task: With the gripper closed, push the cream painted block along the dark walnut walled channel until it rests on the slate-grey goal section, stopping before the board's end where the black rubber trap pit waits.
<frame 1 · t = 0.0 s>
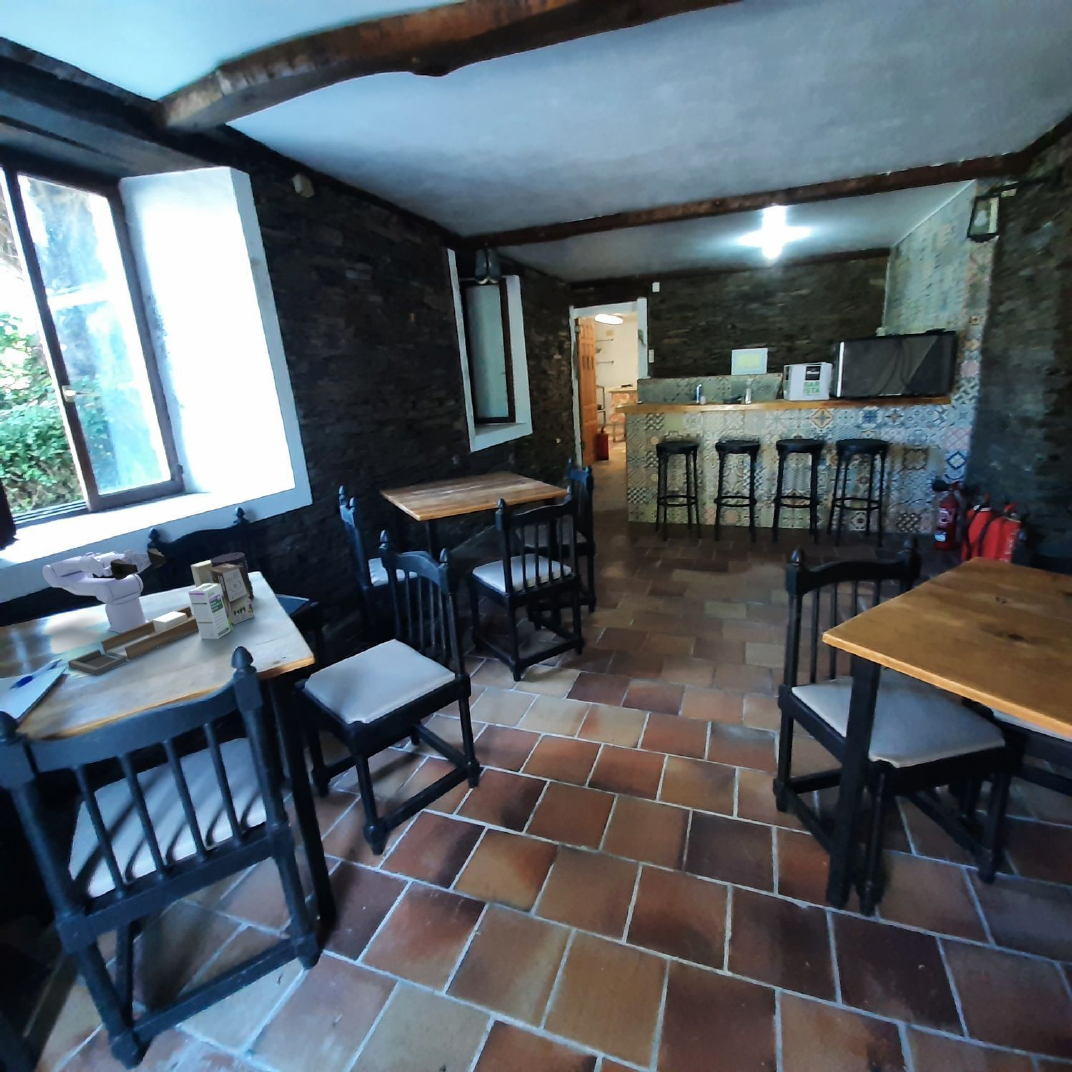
hand: (150, 563, 150), 22 cm above the table, tool horizontal, fingers open, 7 cm apart
walled channel: (163, 636, 156), on the table
syrup box: (217, 635, 155), on the table
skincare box: (211, 598, 184), on the table
cream block: (172, 629, 158), point 1 cm above the table, touching walled channel
trap pit: (98, 664, 142), on the table
storage jar: (238, 600, 180), on the table
coffee box: (237, 618, 165), on the table
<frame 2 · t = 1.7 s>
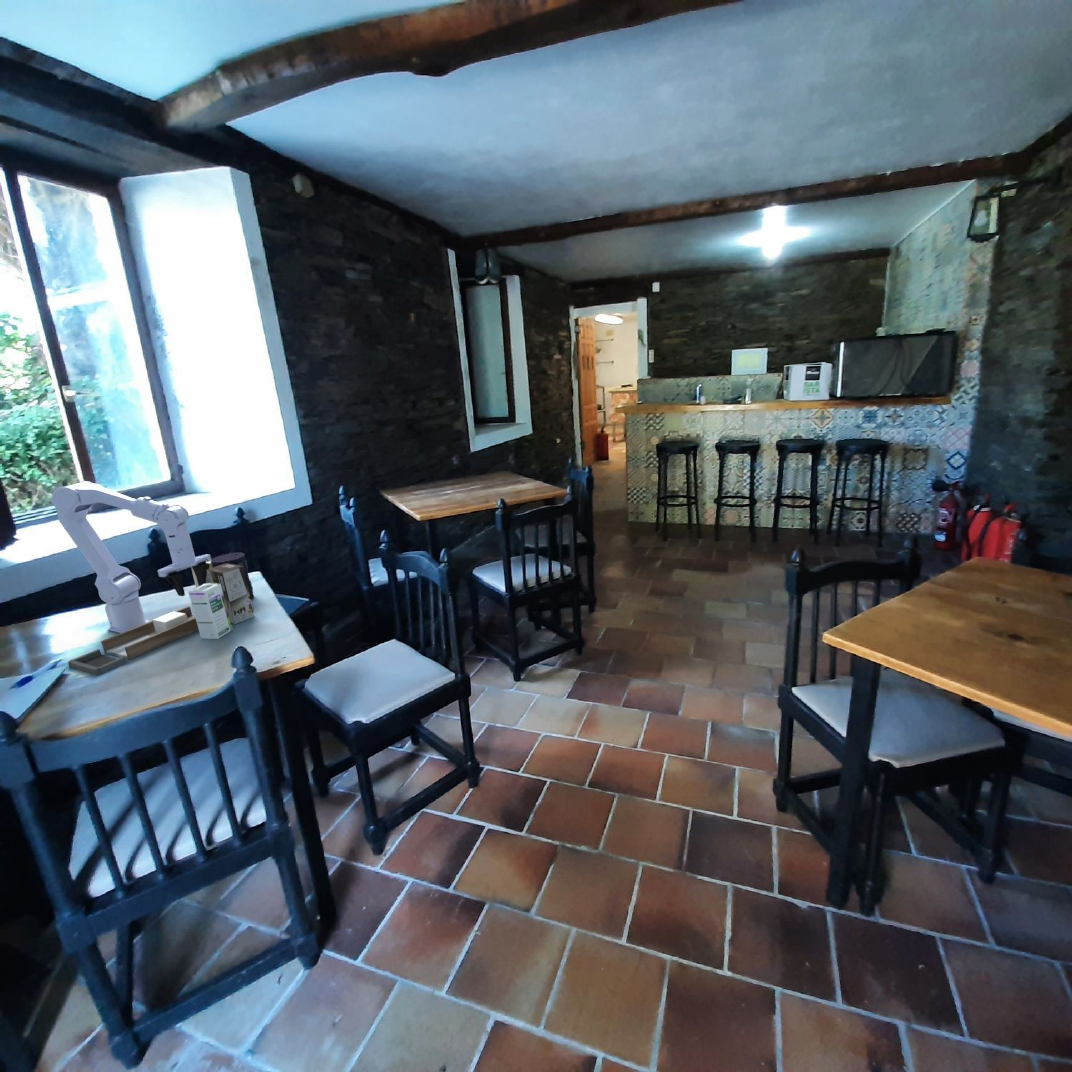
hand: (192, 591, 163), 9 cm above the table, tool pointing down, fingers open, 6 cm apart
nothing on the table moved.
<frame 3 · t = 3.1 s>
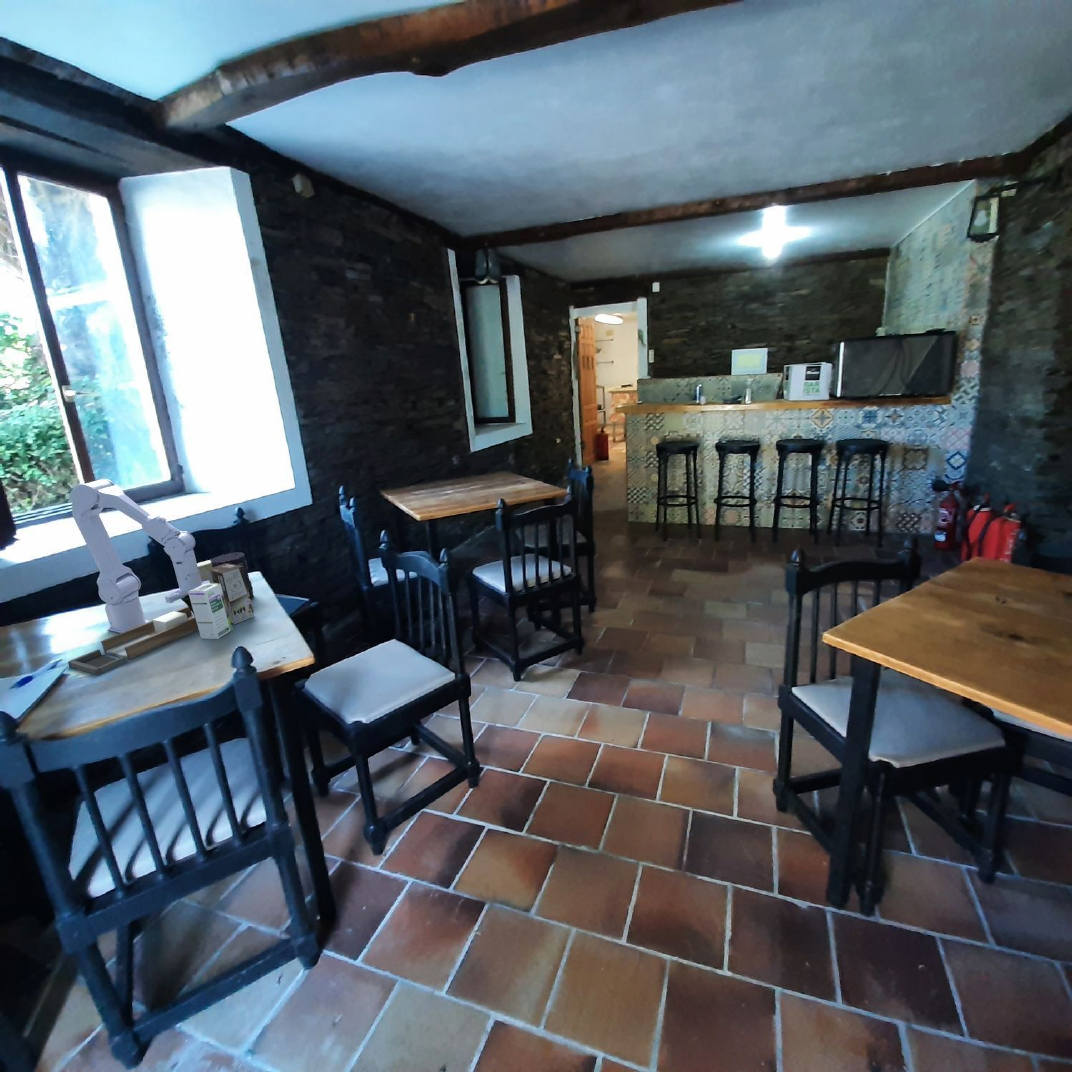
hand: (198, 616, 165), 1 cm above the table, tool pointing down, fingers closed
nothing on the table moved.
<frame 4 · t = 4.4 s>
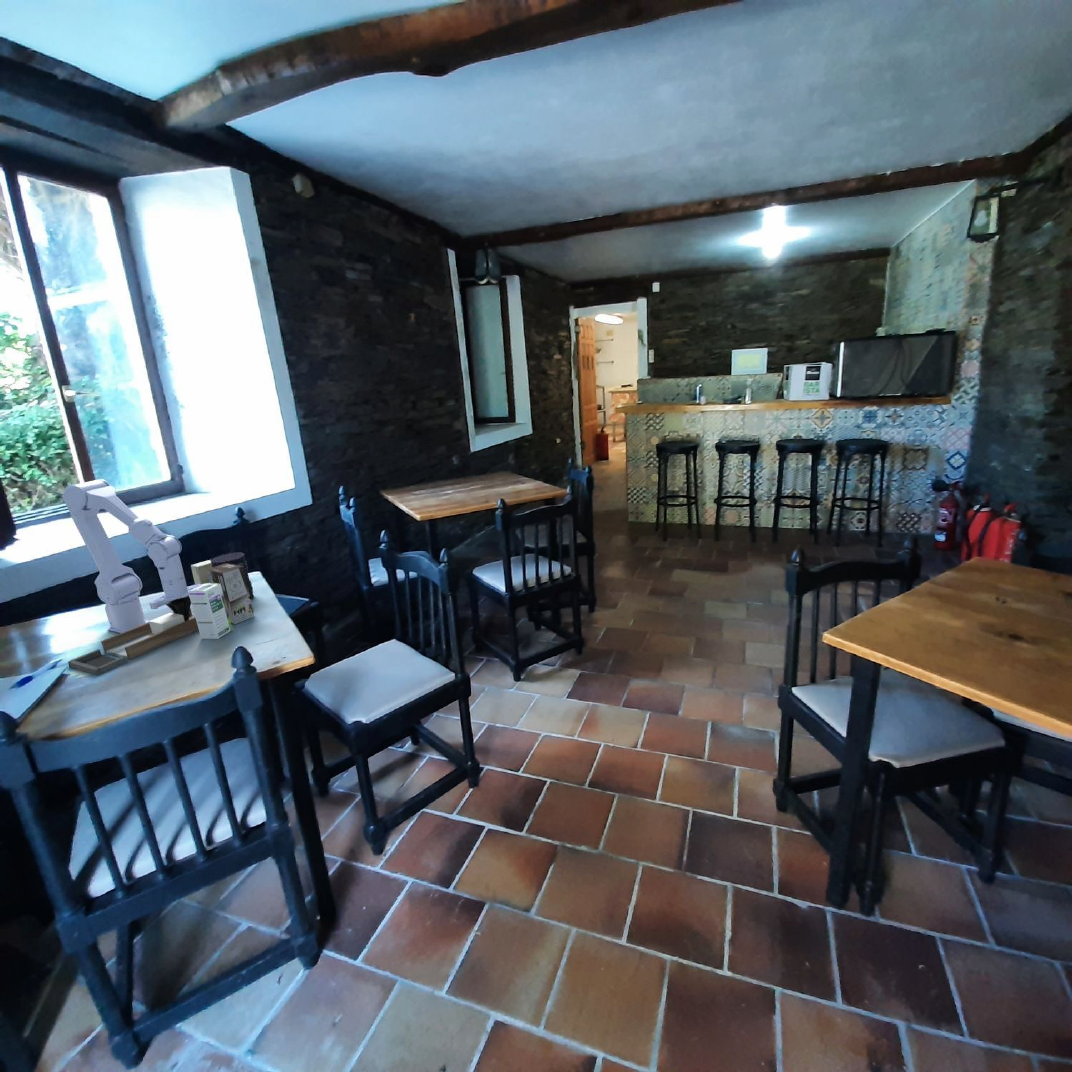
hand: (184, 622, 161), 1 cm above the table, tool pointing down, fingers closed
cream block: (169, 630, 158), point 1 cm above the table, touching gripper
everything else where it was.
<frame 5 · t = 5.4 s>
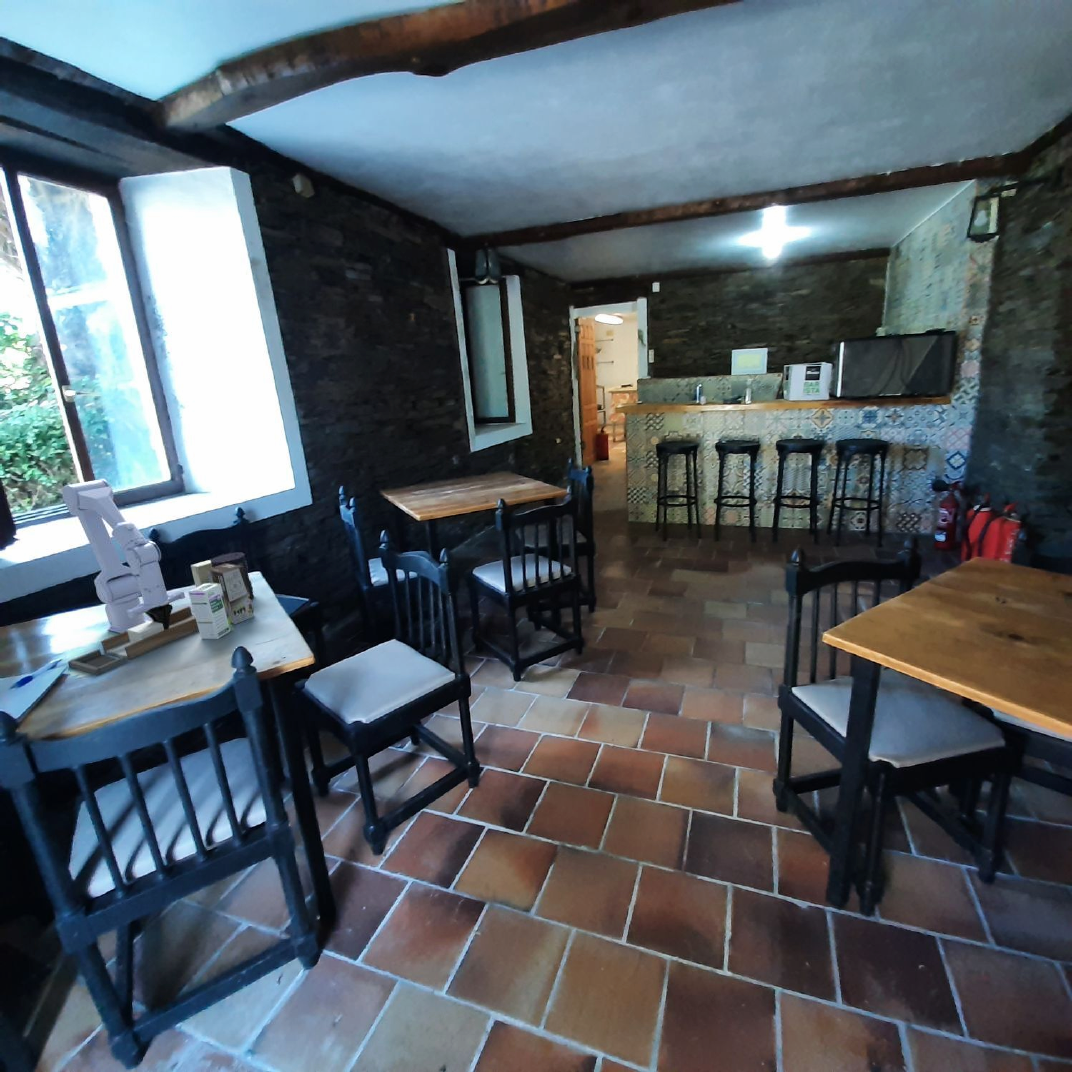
hand: (164, 630, 156), 1 cm above the table, tool pointing down, fingers closed
cream block: (148, 639, 153), point 1 cm above the table, touching gripper, walled channel
everything else where it was.
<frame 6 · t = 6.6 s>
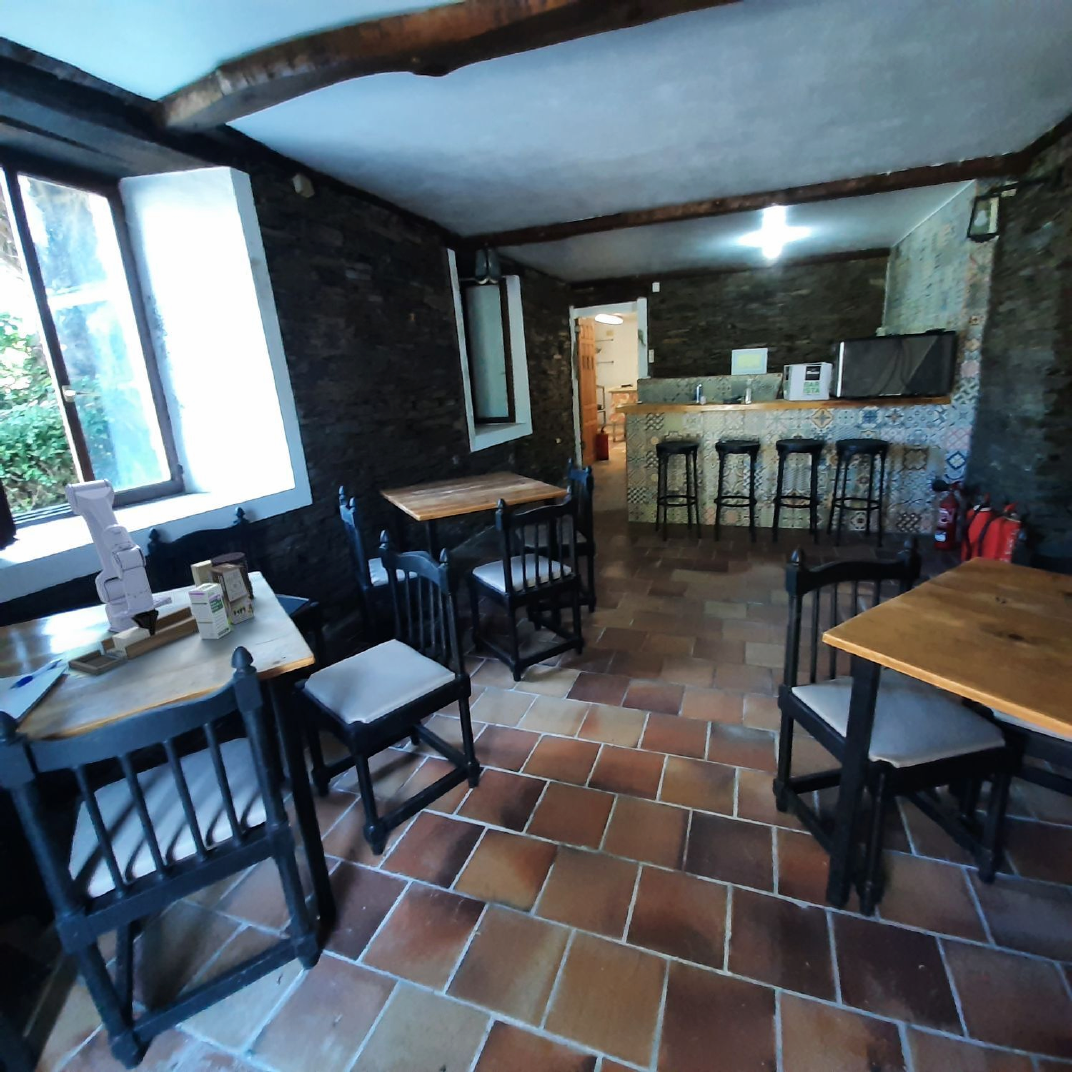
hand: (150, 636, 153), 1 cm above the table, tool pointing down, fingers closed
cream block: (134, 646, 149), point 1 cm above the table, touching gripper, walled channel
everything else where it was.
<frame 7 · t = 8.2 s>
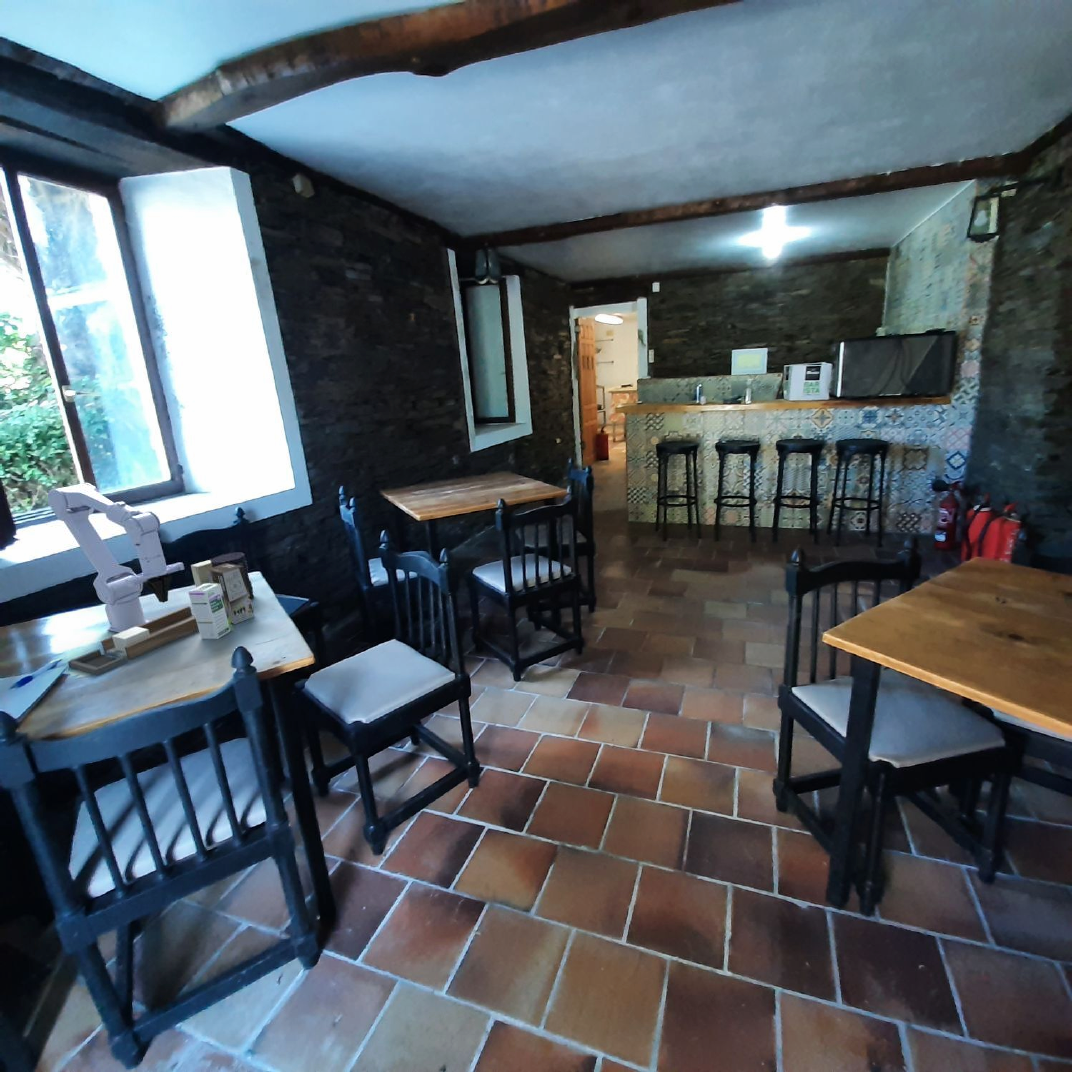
hand: (163, 601, 157), 9 cm above the table, tool pointing down, fingers closed
cream block: (134, 646, 149), point 1 cm above the table, touching walled channel
everything else where it was.
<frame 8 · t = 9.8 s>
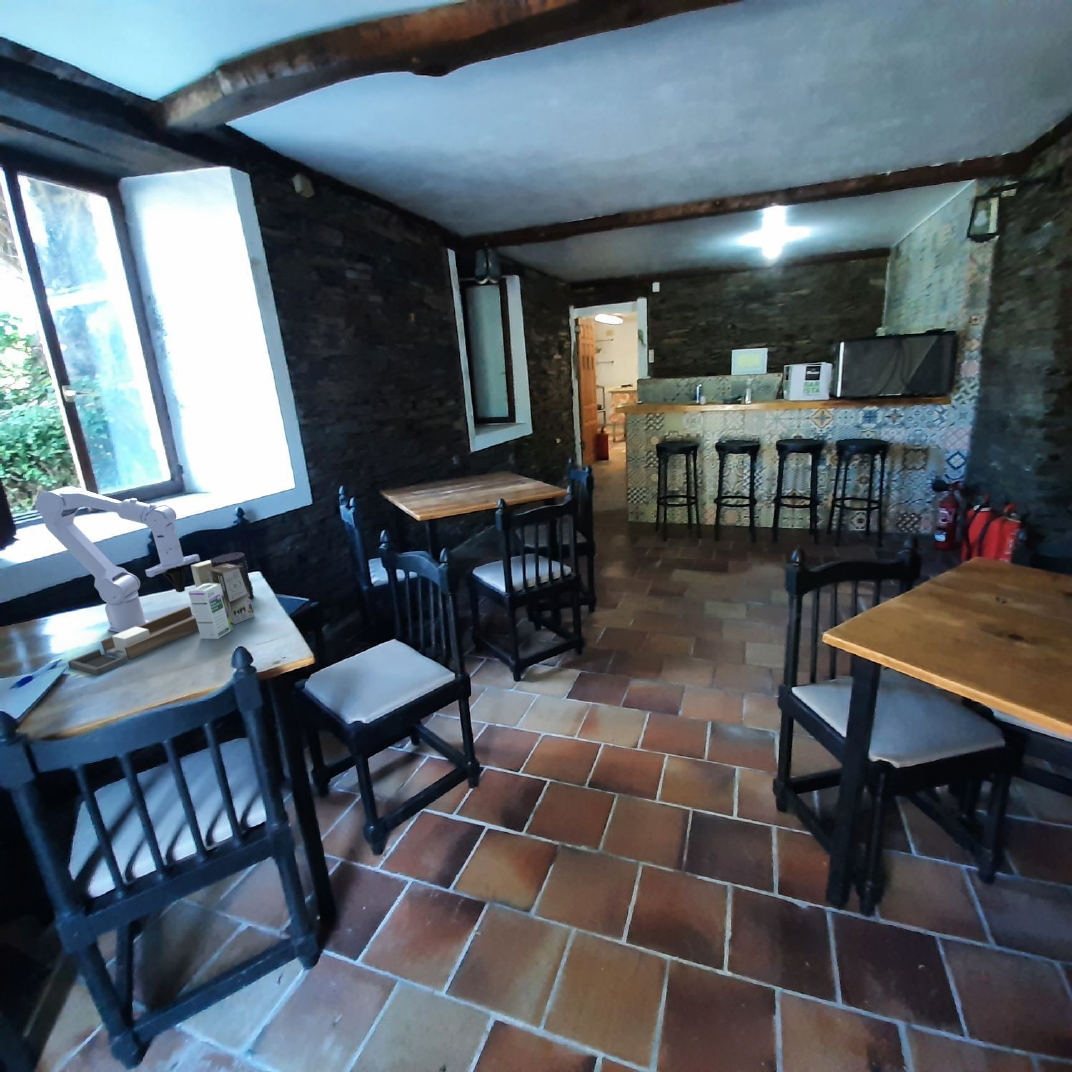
hand: (180, 591, 164), 9 cm above the table, tool pointing down, fingers closed
nothing on the table moved.
at the end: cream block inside the target area (0.9 cm from its centre), point 0.8 cm above the table; cream block tilted 0°; cream block touching walled channel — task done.
